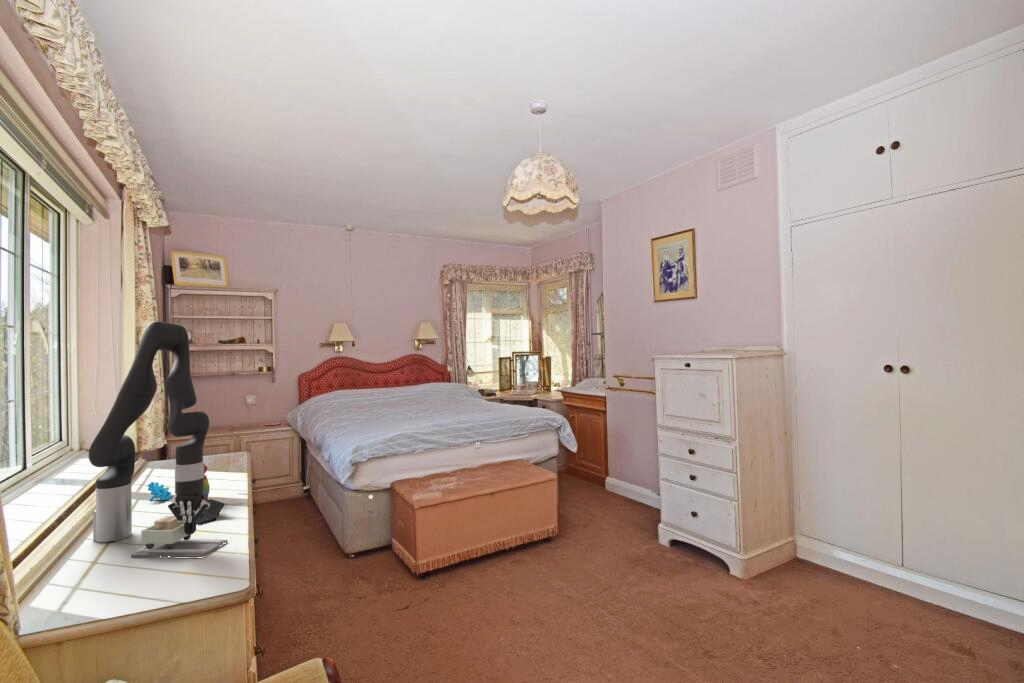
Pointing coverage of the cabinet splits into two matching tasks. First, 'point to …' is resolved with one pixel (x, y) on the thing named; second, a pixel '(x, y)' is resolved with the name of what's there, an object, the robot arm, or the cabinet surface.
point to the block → (167, 523)
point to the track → (181, 549)
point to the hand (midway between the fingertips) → (190, 533)
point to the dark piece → (211, 512)
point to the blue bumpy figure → (159, 491)
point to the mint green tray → (163, 536)
